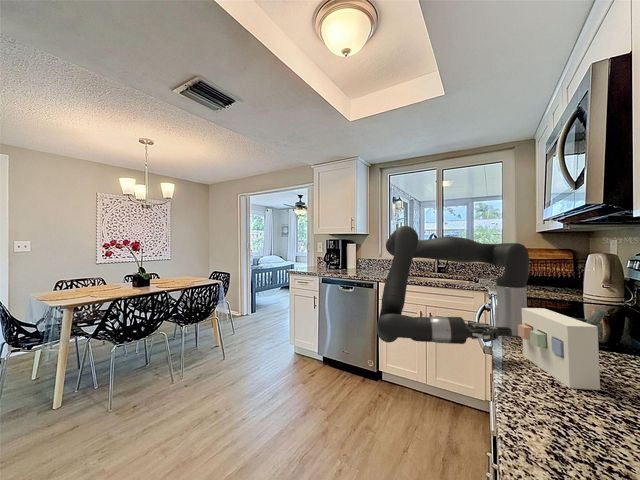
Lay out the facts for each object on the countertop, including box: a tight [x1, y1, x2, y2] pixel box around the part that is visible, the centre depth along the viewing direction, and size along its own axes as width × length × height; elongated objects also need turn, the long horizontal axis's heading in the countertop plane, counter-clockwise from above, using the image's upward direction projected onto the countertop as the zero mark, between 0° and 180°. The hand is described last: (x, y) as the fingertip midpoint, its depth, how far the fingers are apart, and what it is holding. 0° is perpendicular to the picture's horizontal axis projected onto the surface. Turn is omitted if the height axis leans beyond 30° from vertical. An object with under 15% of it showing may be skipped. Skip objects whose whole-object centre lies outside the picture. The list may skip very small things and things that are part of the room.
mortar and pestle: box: [573, 307, 609, 338], centre depth 92 cm, size 11×9×12 cm
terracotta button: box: [517, 325, 532, 340], centre depth 79 cm, size 2×3×3 cm, turn 171°
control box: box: [522, 307, 601, 391], centre depth 72 cm, size 6×19×14 cm, turn 171°
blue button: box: [551, 338, 564, 356], centre depth 67 cm, size 2×3×3 cm, turn 170°
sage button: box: [530, 331, 546, 347], centre depth 73 cm, size 2×3×3 cm, turn 171°
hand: (510, 331), depth 79 cm, fingers closed
